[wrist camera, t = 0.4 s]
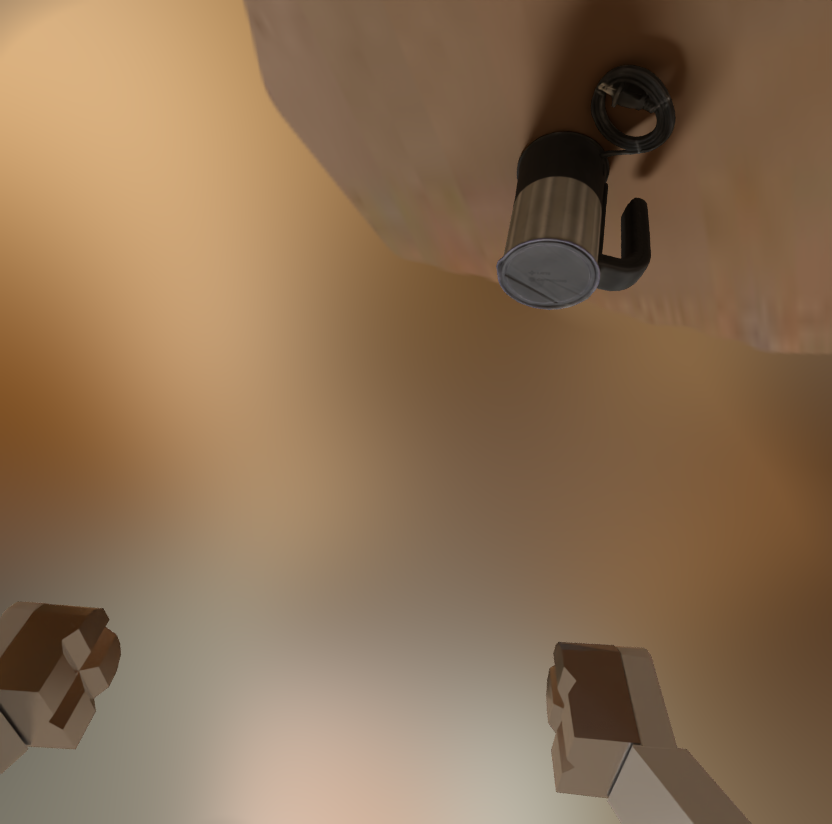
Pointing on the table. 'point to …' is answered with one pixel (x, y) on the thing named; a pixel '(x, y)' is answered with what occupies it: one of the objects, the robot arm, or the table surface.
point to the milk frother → (581, 203)
